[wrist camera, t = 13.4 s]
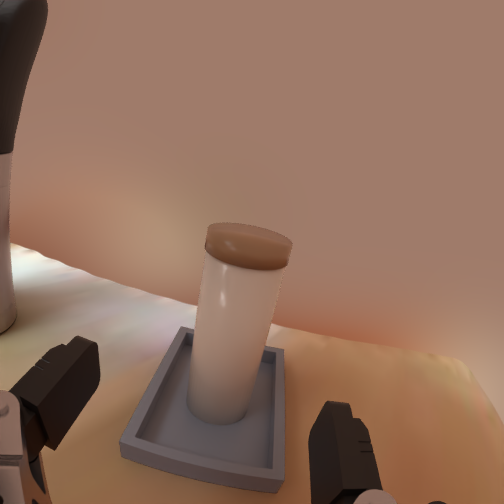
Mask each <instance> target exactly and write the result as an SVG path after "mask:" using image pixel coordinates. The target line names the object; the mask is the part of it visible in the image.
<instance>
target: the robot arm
mask: <svg viewBox="0 0 504 504" xmlns="http://www.w3.org/2000/svg"><path fill="white" fill-rule="evenodd" d="M47 14H48V5H47V0H0V333H2V332H3V331H5V330H6V329H8V328H9V327H10V326H11V325H12V324H13V322H14V321H15V318H16V316H17V310H16V303H15V296H14V288H13V277H12V266H11V253H10V228H9V204H10V203H9V200H10V177H11V164H12V154H13V152H12V151H13V147H14V138H15V133H16V129H17V125H18V121H19V116H20V111H21V106H22V101H23V97H24V93H25V89H26V85H27V81H28V78H29V75H30V72H31V69H32V65H33V62H34V60H35V57H36V54H37V51H38V48H39V45H40V42H41V39H42V36H43V32H44V29H45V25H46V20H47ZM99 382H100V365H99V353H98V345H97V343H96V342H93V341H91V340H88V339H85V338H83V337H80V336H76V337H74V338H73V339H72V340H71V341H70V342H69V343H68V344H67V345H64V344H61V345H58V346H56V347H54V348H52V349H50V350H49V351H48V352H47V353H46V354H45V355H44V356H43V357H42V359H40V360H39V361H38V362H37V363H36V364H35V366H33V367H32V368H31V369H30V370H29V371H28V372H27V373H26V374H25V375H24V376H23V377H22V378H21V379H20V380H19V381H18V382H17V383H16V384H15V385H14V386H13V387H12V388H11V389H10V390H9V391H4V390H0V504H52V501H51V498H50V495H49V491H48V486H47V482H46V477H45V472H44V466H43V461H42V455H41V452H40V451H41V450H42V448H43V447H44V445H45V446H47V447H49V448H51V449H52V450H54V451H55V450H56V448H57V447H58V445H59V444H60V442H61V441H62V439H63V438H64V436H65V435H66V433H67V432H68V430H69V429H70V427H71V426H72V424H73V423H74V421H75V420H76V418H77V417H78V415H79V414H80V412H81V411H82V410H83V408H84V407H85V405H86V404H87V402H88V401H89V399H90V398H91V397H92V395H93V394H94V392H95V391H96V389H97V387H98V385H99ZM308 447H309V463H310V482H311V504H397V503H396V501H395V499H394V498H393V497H392V496H391V495H390V494H388V493H387V492H385V491H383V489H382V486H381V481H380V477H379V473H378V468H377V464H376V460H375V456H374V453H373V448H372V444H371V440H370V436H369V432H368V429H367V428H366V426H365V425H364V424H363V422H362V421H361V419H359V418H353V416H352V412H351V407H350V405H349V403H343V402H334V401H327V402H326V403H325V404H324V406H323V408H322V410H321V412H320V414H319V415H318V417H317V419H316V421H315V423H314V425H313V427H312V429H311V431H310V435H309V441H308ZM429 504H446V503H444V502H441V501H434V502H431V503H429Z"/></svg>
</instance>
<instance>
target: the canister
mask: <svg viewBox="0 0 504 504" xmlns="http://www.w3.org/2000/svg"><path fill="white" fill-rule="evenodd" d="M291 249H292V242H291V241H290V240H289V239H288V238H287V237H285V236H283V235H281V234H278V233H276V232H273V231H270V230H268V229H264V228H260V227H256V226H251V225H246V224H239V223H216V224H212V225H210V226H209V227H208V231H207V236H206V243H205V250H206V253H205V260H204V267H203V273H202V279H201V286H200V293H199V300H198V307H197V315H196V322H195V330H194V338H193V346H192V354H191V362H190V371H189V380H188V389H187V399H186V402H187V406H188V408H189V410H190V412H191V413H192V414H193V415H194V416H195V417H197V418H198V419H200V420H202V421H204V422H206V423H209V424H213V425H229V424H233V423H236V422H238V421H239V420H241V419H242V418H243V417H244V415H245V414H246V412H247V408H248V405H249V401H250V398H251V394H252V391H253V387H254V384H255V380H256V377H257V373H258V370H259V366H260V362H261V359H262V355H263V351H264V348H265V344H266V340H267V337H268V333H269V329H270V325H271V321H272V317H273V314H274V310H275V306H276V302H277V298H278V294H279V290H280V287H281V283H282V279H283V275H284V270H285V267H286V266H287V264H288V261H289V257H290V253H291Z"/></svg>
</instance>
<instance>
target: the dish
mask: <svg viewBox="0 0 504 504" xmlns="http://www.w3.org/2000/svg"><path fill="white" fill-rule="evenodd" d="M193 338H194V330H193V329H189V328H186V327H182V326H181V327H180V329H179V331H178V333H177V335H176V336H175V338H174V340H173V342H172V344H171V345H170V347H169V349H168V351H167V353H166V354H165V356H164V358H163V360H162V362H161V364H160V365H159V367H158V369H157V371H156V373H155V375H154V376H153V378H152V380H151V382H150V384H149V386H148V388H147V389H146V391H145V393H144V395H143V397H142V399H141V401H140V402H139V404H138V406H137V408H136V410H135V412H134V414H133V416H132V418H131V419H130V421H129V423H128V425H127V427H126V429H125V431H124V433H123V435H122V437H121V439H120V440H119V444H120V450H121V455H122V457H124V458H126V459H129V460H132V461H135V462H138V463H140V464H143V465H146V466H150V467H153V468H156V469H159V470H162V471H166V472H169V473H173V474H176V475H180V476H184V477H188V478H192V479H196V480H200V481H204V482H209V483H214V484H219V485H224V486H229V487H235V488H241V489H247V490H254V491H261V492H270V493H277V491H278V490H279V488H280V487H281V485H282V484H283V482H284V480H285V378H284V349H279V348H274V347H269V346H265V348H264V351H263V355H262V359H261V362H260V366H259V370H258V373H257V377H256V380H255V384H254V387H253V391H252V394H251V398H250V401H249V405H248V408H247V412H246V414H245V415H244V417H243V418H242V419H241V420H239V421H238V422H236V423H233V424H229V425H213V424H209V423H206V422H204V421H202V420H200V419H198V418H197V417H195V416H194V415H193V414H192V413H191V412H190V410H189V408H188V406H187V402H186V399H187V389H188V380H189V371H190V362H191V354H192V346H193Z"/></svg>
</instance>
